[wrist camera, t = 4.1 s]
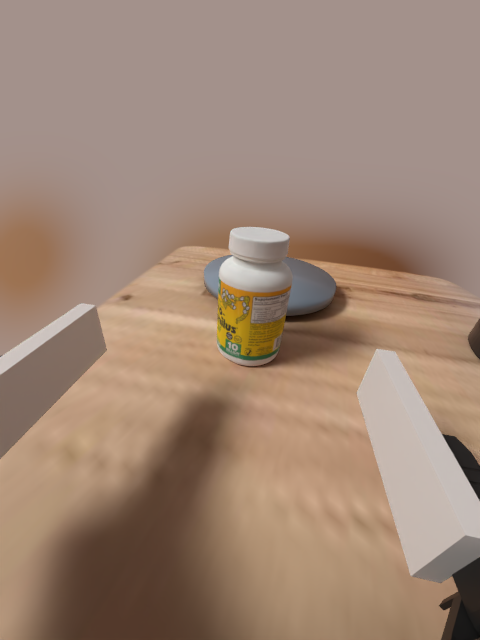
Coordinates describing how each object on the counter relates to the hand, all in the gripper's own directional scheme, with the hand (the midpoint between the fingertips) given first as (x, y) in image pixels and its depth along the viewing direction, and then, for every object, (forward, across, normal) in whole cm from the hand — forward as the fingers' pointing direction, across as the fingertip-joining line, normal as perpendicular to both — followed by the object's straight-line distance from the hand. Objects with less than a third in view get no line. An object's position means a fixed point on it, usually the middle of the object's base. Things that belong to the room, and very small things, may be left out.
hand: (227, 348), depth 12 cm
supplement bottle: (+8, 0, -6) cm, 10 cm away
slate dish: (+21, +1, -6) cm, 22 cm away
